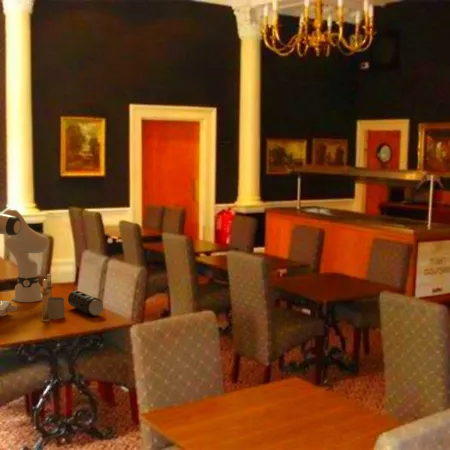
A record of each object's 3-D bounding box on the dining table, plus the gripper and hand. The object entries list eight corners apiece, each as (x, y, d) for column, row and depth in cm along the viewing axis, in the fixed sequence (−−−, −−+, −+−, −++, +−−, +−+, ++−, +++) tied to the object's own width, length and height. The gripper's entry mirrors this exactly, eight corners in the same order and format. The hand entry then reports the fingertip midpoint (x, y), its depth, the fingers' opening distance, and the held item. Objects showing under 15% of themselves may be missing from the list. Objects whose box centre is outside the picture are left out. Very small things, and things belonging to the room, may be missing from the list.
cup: (67, 316, 371) (67, 298, 370) (56, 319, 364) (55, 301, 363) (56, 314, 375) (55, 296, 374) (44, 317, 368) (44, 299, 367)
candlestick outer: (41, 320, 363) (41, 279, 361) (50, 319, 364) (49, 278, 361) (40, 322, 359) (39, 280, 357) (49, 321, 359) (48, 280, 357)
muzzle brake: (83, 307, 395) (83, 289, 393) (104, 317, 372) (104, 297, 371) (67, 309, 389) (67, 291, 388) (87, 319, 366) (87, 299, 365)
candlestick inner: (46, 313, 379) (45, 273, 377) (54, 312, 380) (53, 273, 377) (45, 314, 375) (44, 275, 373) (53, 314, 375) (52, 275, 373)
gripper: (-15, 307, 355) (13, 306, 356) (-7, 299, 375) (20, 298, 376) (-15, 319, 355) (13, 318, 357) (-6, 310, 375) (20, 310, 377)
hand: (17, 308), depth 367 cm, fingers closed
